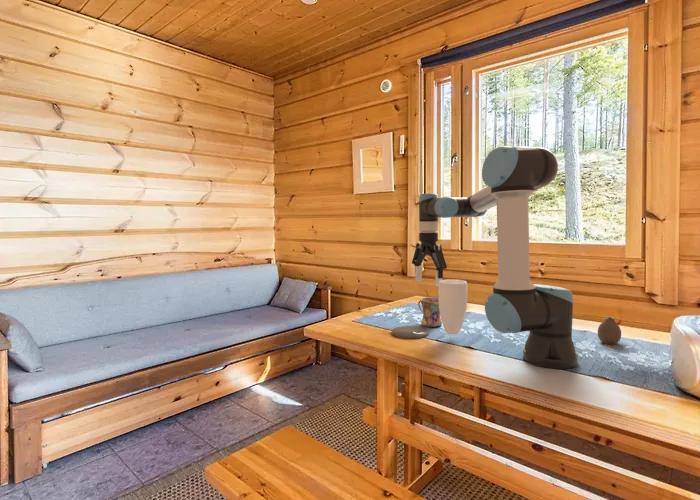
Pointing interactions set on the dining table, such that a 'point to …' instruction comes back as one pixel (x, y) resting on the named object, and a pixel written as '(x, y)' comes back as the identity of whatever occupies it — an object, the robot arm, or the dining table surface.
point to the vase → (609, 331)
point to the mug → (430, 312)
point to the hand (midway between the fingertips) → (428, 283)
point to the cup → (452, 304)
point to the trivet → (410, 332)
